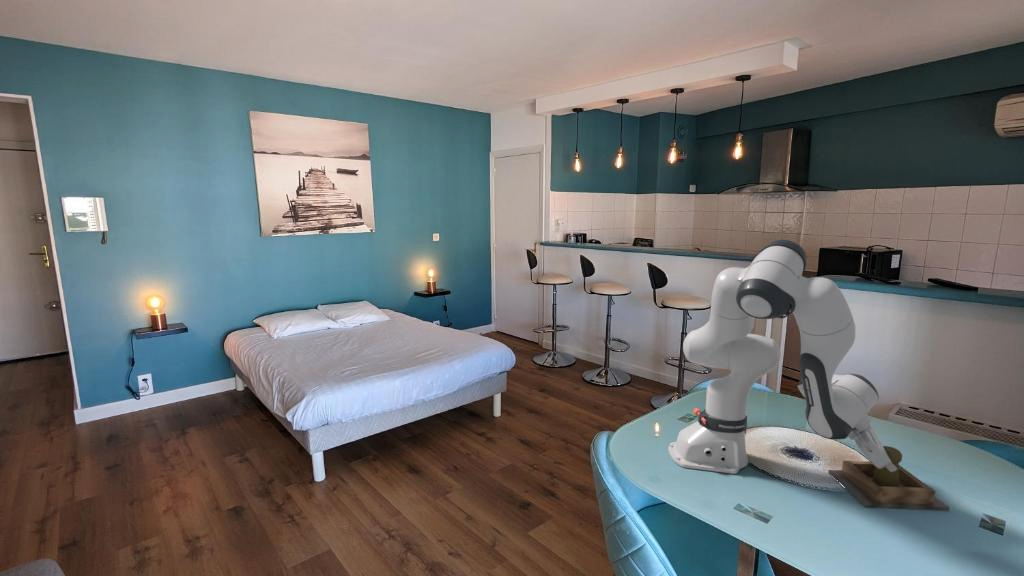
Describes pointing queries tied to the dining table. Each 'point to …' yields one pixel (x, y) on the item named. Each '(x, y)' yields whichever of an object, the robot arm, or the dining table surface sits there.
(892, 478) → the cork
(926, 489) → the collar
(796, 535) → the dining table surface
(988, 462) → the dining table surface
